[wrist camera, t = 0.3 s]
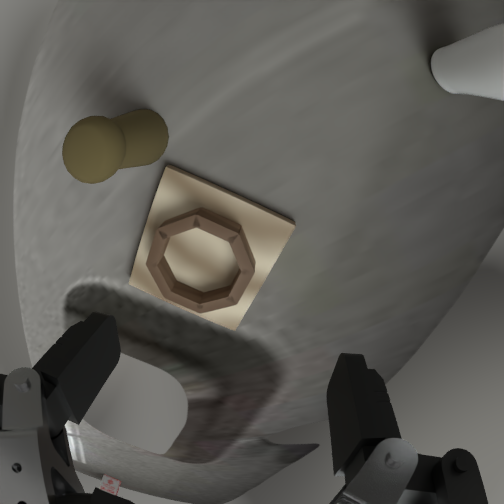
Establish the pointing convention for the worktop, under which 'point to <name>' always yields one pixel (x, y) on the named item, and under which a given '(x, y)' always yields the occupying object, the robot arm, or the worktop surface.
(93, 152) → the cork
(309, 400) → the worktop surface
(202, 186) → the board
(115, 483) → the milk carton
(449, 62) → the drinking glass
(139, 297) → the worktop surface
